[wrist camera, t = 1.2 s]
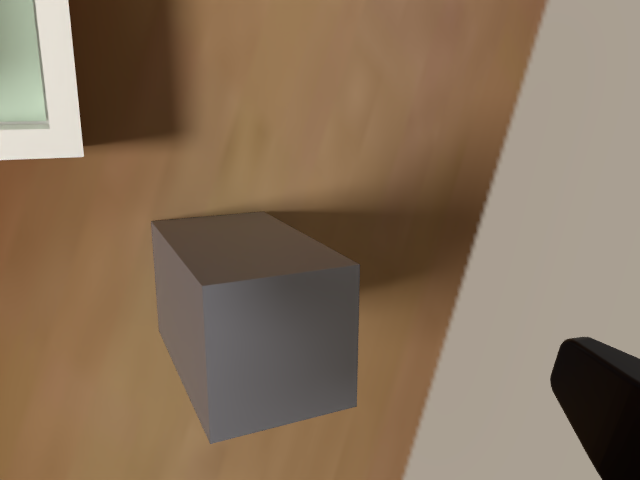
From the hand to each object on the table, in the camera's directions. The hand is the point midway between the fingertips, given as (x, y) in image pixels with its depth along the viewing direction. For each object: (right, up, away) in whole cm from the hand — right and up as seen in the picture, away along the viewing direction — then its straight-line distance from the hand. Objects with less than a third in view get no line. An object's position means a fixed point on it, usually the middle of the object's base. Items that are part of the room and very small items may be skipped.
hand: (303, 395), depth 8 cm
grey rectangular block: (-4, +1, +14) cm, 14 cm away
